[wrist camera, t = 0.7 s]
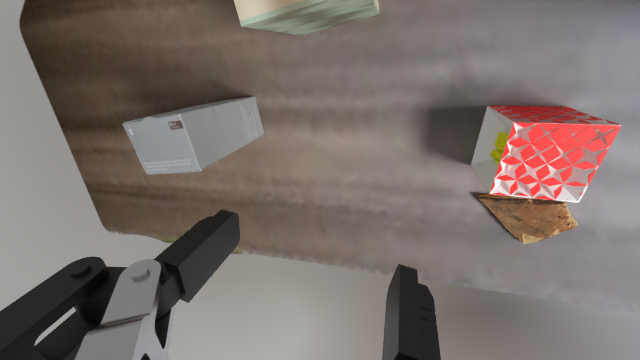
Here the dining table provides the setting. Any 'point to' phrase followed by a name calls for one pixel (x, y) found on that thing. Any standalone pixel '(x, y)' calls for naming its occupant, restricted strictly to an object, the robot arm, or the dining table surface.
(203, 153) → the skincare box
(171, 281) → the robot arm
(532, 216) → the shard
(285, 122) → the dining table surface
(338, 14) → the board
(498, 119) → the red white patterned cube
